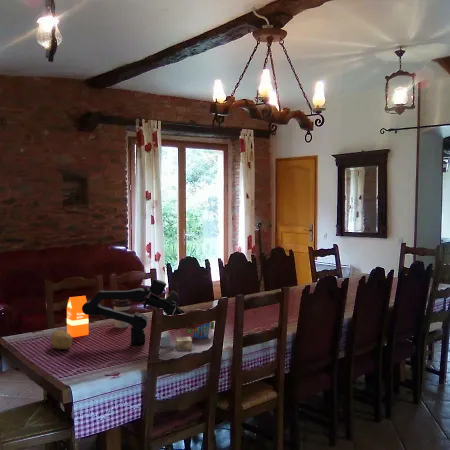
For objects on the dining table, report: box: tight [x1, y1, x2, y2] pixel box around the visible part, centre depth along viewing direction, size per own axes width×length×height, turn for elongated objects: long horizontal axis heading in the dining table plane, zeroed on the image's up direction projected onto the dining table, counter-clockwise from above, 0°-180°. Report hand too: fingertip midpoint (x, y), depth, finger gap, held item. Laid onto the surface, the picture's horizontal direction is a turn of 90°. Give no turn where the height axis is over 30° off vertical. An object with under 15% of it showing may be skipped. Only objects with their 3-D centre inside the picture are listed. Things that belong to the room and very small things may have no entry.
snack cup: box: [186, 321, 215, 340], centre depth 260 cm, size 16×10×10 cm
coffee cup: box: [112, 299, 132, 329], centre depth 281 cm, size 10×10×15 cm
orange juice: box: [66, 295, 89, 338], centre depth 263 cm, size 8×9×20 cm
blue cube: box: [161, 333, 171, 348], centre depth 245 cm, size 5×5×5 cm
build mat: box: [172, 343, 196, 352], centre depth 241 cm, size 10×10×1 cm
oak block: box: [175, 336, 193, 350], centre depth 241 cm, size 7×7×4 cm
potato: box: [50, 329, 73, 350], centre depth 238 cm, size 10×14×8 cm
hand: (186, 315), depth 249 cm, fingers open, 9 cm apart
